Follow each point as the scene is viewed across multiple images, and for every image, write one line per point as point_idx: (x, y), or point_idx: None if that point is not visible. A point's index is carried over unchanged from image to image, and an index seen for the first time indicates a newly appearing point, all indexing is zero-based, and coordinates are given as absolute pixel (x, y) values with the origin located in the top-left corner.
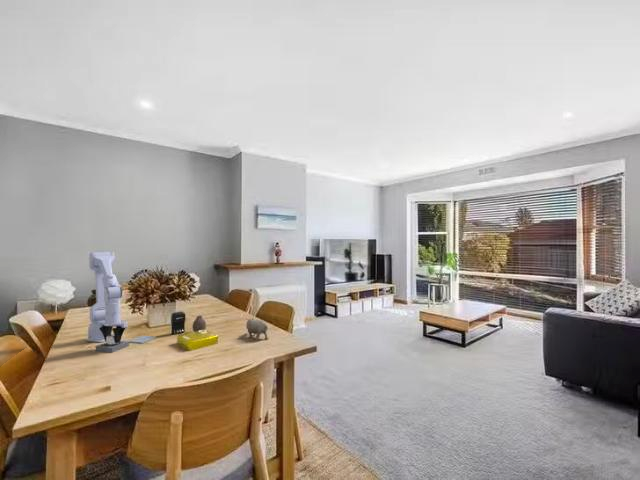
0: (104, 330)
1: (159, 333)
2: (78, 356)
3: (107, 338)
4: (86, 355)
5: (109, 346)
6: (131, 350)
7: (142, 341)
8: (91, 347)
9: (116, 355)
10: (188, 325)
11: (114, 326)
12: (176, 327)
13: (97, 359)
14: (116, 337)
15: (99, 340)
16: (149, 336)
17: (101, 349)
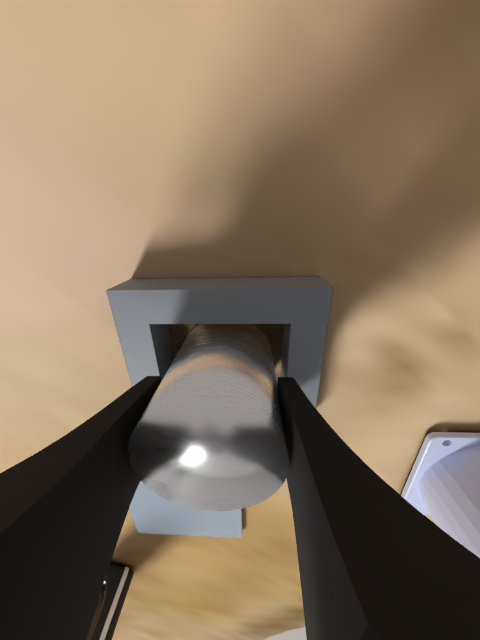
0: (330, 548)
1: (196, 565)
2: (371, 67)
3: (216, 385)
4: (300, 133)
5: (179, 319)
6: (41, 351)
7: None
8: (434, 336)
9: (14, 228)
10: (171, 626)
11: None
12: (93, 620)
13: (51, 55)
14: (89, 419)
15: (468, 449)
16: (185, 534)
17: (250, 281)
